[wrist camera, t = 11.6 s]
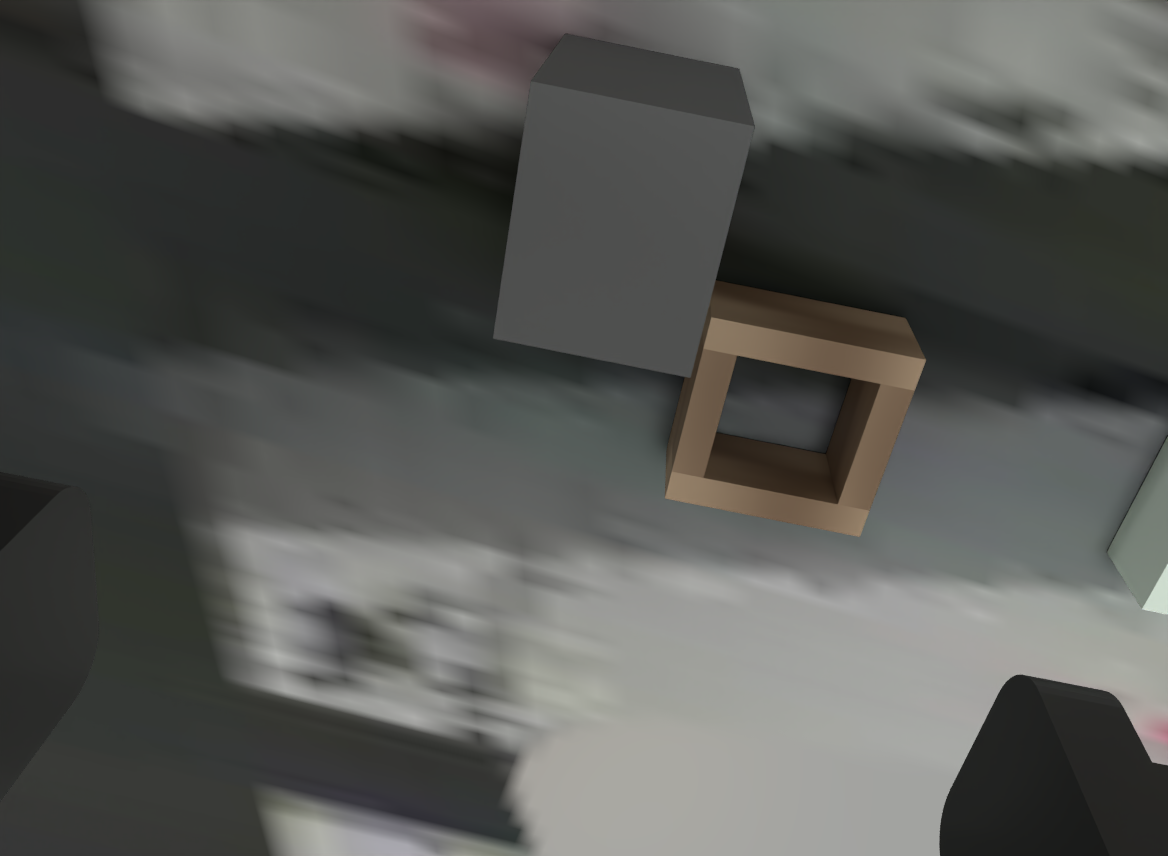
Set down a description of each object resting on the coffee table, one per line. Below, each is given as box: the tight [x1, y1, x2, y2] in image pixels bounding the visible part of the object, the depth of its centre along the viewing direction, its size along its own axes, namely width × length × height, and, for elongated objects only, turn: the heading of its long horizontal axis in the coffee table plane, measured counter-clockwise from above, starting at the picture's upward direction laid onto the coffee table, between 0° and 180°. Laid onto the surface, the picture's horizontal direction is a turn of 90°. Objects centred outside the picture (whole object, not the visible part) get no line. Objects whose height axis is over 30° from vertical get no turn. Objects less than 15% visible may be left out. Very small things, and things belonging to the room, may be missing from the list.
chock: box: [493, 34, 755, 378], centre depth 22 cm, size 4×5×6 cm
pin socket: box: [665, 280, 926, 537], centre depth 26 cm, size 5×5×2 cm
